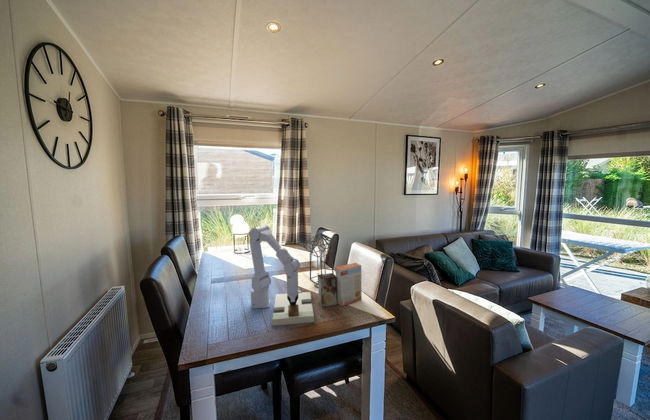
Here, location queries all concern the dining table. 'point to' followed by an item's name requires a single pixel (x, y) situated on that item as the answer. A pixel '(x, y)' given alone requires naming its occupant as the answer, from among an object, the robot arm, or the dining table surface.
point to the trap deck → (282, 310)
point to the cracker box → (348, 284)
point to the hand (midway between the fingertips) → (293, 308)
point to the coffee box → (327, 289)
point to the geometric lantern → (320, 250)
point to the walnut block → (293, 310)
